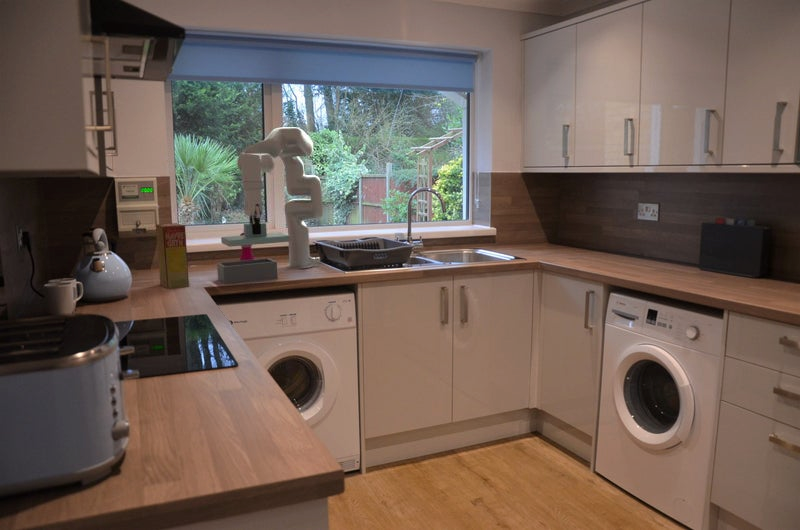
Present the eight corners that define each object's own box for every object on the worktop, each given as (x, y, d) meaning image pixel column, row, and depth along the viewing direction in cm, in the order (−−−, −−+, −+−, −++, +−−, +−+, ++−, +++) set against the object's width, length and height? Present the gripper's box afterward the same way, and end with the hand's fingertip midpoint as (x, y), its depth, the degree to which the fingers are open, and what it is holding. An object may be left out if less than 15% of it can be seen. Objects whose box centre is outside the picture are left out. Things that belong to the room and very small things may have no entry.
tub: (269, 276, 278) (268, 258, 277) (277, 280, 268) (276, 261, 267) (218, 281, 268) (216, 263, 267) (224, 286, 258) (223, 267, 257)
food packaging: (190, 286, 260) (185, 225, 256) (166, 289, 255) (161, 226, 251) (182, 281, 271) (177, 222, 267) (159, 284, 266) (153, 224, 262)
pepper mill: (250, 271, 292) (248, 227, 289) (259, 273, 287) (256, 228, 284) (236, 273, 287) (233, 229, 284) (245, 275, 282) (242, 230, 279)
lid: (280, 238, 261) (279, 220, 260) (290, 241, 250) (289, 222, 248) (221, 242, 251) (220, 224, 250) (229, 246, 239) (228, 227, 238)
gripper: (237, 186, 252) (240, 232, 255) (248, 187, 238) (251, 236, 241) (256, 185, 255) (259, 231, 258) (268, 186, 241) (271, 235, 244)
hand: (255, 233), depth 250 cm, fingers closed on lid, 3 cm apart
